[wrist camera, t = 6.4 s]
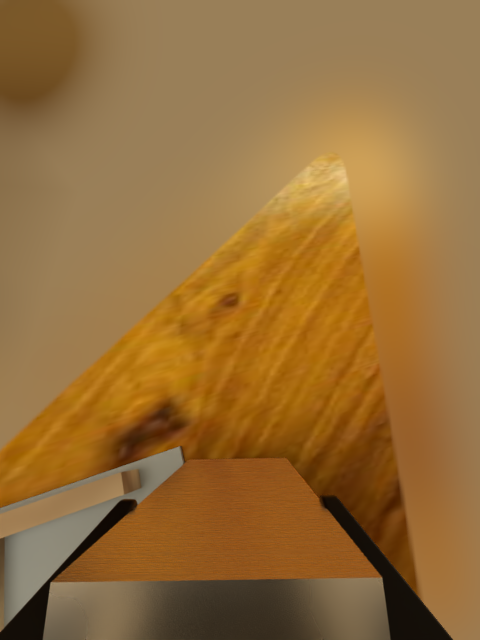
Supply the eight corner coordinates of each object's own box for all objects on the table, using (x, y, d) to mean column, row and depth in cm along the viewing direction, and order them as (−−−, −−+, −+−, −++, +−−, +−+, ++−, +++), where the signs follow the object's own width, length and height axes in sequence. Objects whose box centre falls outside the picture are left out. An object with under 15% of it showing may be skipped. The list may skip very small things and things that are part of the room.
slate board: (253, 778, 15) (254, 788, 14) (-18, 908, 13) (-27, 924, 13) (181, 446, 21) (179, 446, 20) (-8, 511, 19) (-15, 513, 19)
